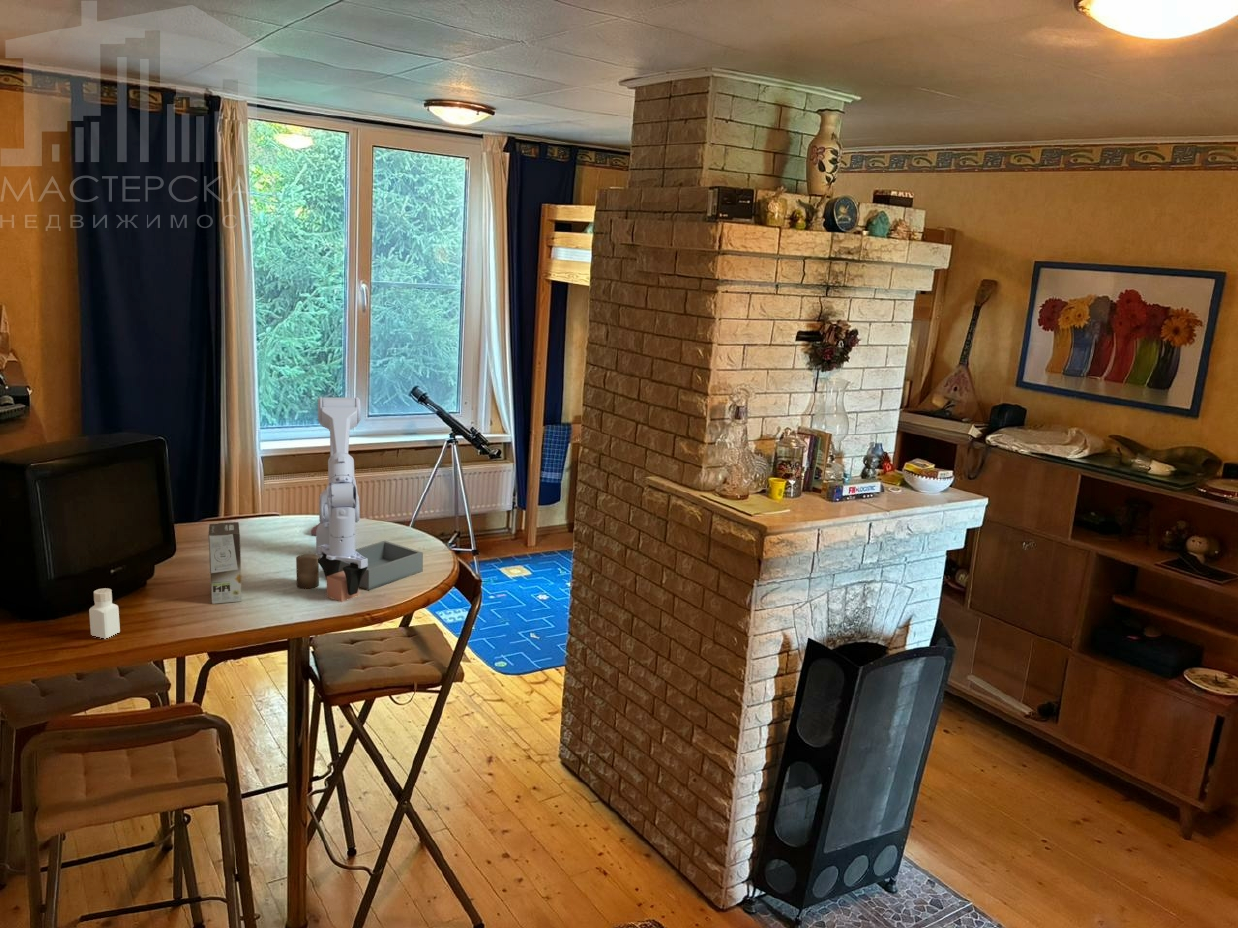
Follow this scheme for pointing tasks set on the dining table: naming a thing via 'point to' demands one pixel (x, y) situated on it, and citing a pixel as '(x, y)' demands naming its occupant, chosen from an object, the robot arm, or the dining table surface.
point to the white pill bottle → (104, 615)
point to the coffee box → (225, 562)
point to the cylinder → (307, 571)
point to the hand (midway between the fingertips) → (342, 590)
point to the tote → (387, 564)
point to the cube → (338, 587)
